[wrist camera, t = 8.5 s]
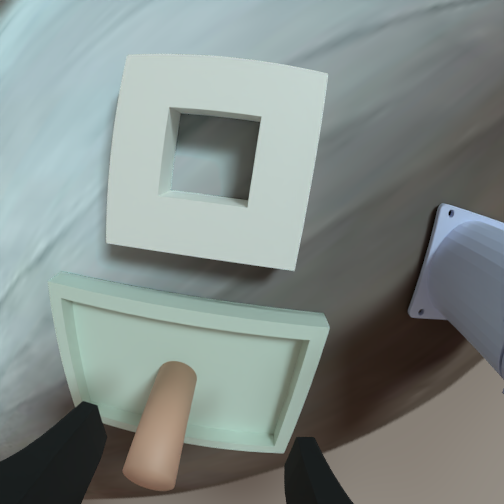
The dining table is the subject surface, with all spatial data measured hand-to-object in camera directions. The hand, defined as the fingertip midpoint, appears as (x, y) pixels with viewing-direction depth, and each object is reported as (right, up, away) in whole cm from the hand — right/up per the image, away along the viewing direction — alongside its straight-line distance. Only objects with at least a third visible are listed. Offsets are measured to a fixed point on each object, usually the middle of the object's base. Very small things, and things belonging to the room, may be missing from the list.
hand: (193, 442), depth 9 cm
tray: (-3, -2, +11) cm, 12 cm away
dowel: (-3, -2, +11) cm, 12 cm away
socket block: (0, +12, +7) cm, 14 cm away
